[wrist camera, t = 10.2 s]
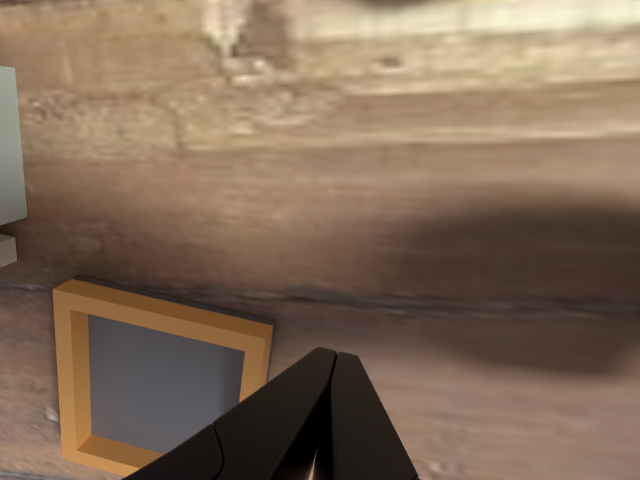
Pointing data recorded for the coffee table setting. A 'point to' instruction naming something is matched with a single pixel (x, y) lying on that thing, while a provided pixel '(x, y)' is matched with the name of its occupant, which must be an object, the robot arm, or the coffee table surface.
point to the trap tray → (148, 370)
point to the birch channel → (7, 250)
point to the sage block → (10, 151)
